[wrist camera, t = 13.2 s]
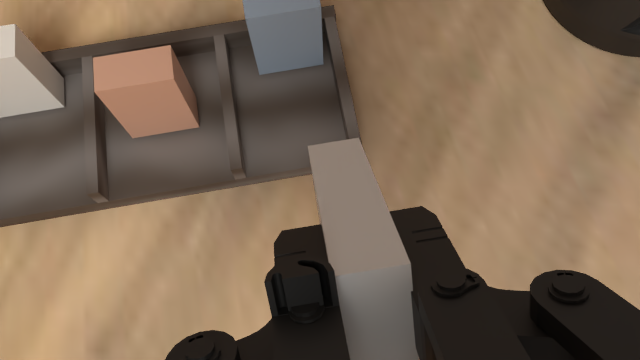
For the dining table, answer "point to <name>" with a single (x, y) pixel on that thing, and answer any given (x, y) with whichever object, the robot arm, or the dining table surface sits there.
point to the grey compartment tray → (179, 146)
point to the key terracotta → (146, 91)
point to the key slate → (285, 33)
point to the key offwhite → (26, 76)
